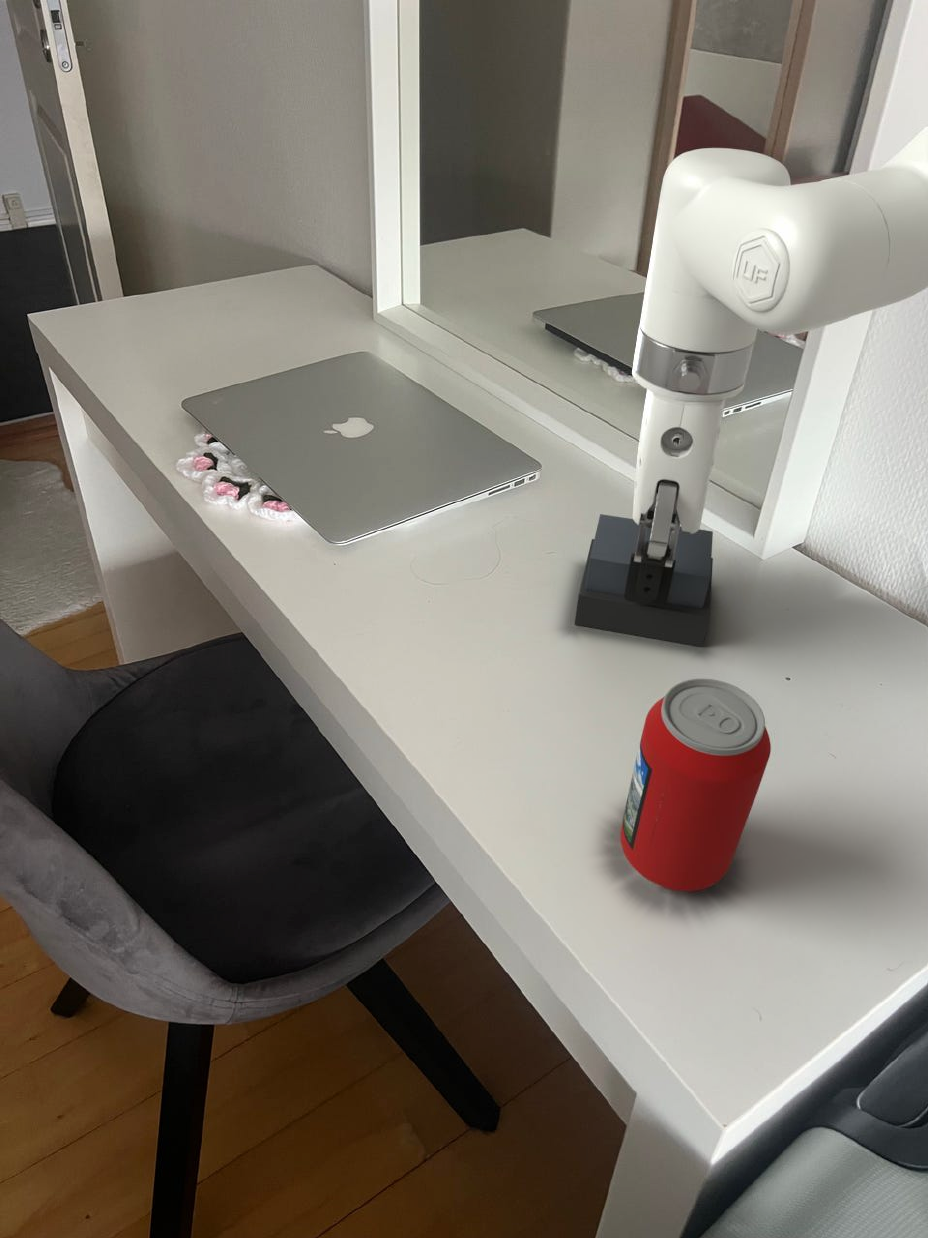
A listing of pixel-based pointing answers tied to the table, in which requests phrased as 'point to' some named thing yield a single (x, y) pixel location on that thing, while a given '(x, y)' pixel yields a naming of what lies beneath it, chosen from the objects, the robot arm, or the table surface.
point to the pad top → (620, 542)
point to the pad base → (642, 615)
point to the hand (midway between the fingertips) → (649, 568)
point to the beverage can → (694, 783)
